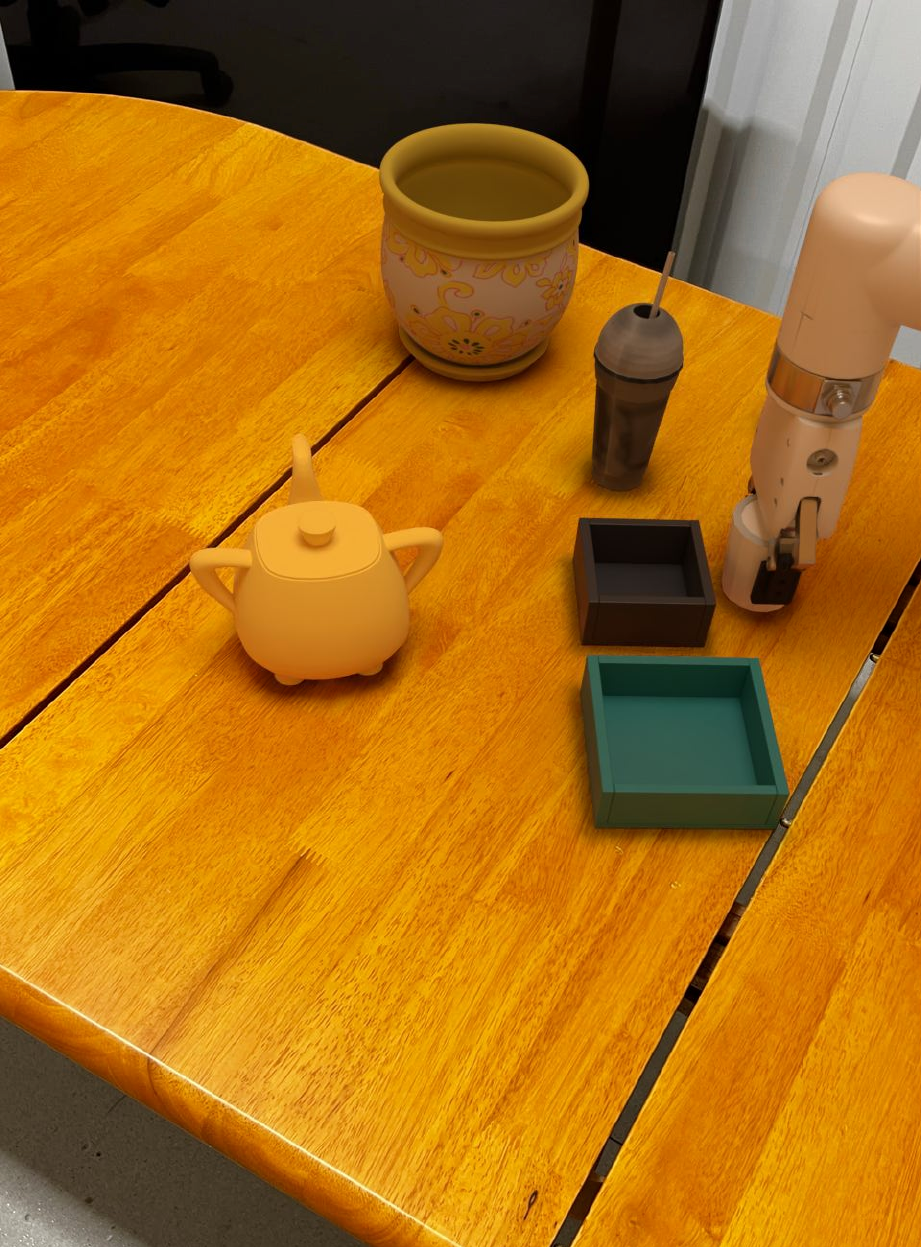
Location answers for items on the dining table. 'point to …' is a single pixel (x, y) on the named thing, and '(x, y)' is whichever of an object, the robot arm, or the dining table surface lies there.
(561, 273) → the flowerpot
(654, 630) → the bin
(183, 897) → the dining table surface
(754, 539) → the white cylinder
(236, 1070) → the dining table surface
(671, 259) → the beverage cup
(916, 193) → the robot arm
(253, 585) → the teapot
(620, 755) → the teal square tray
